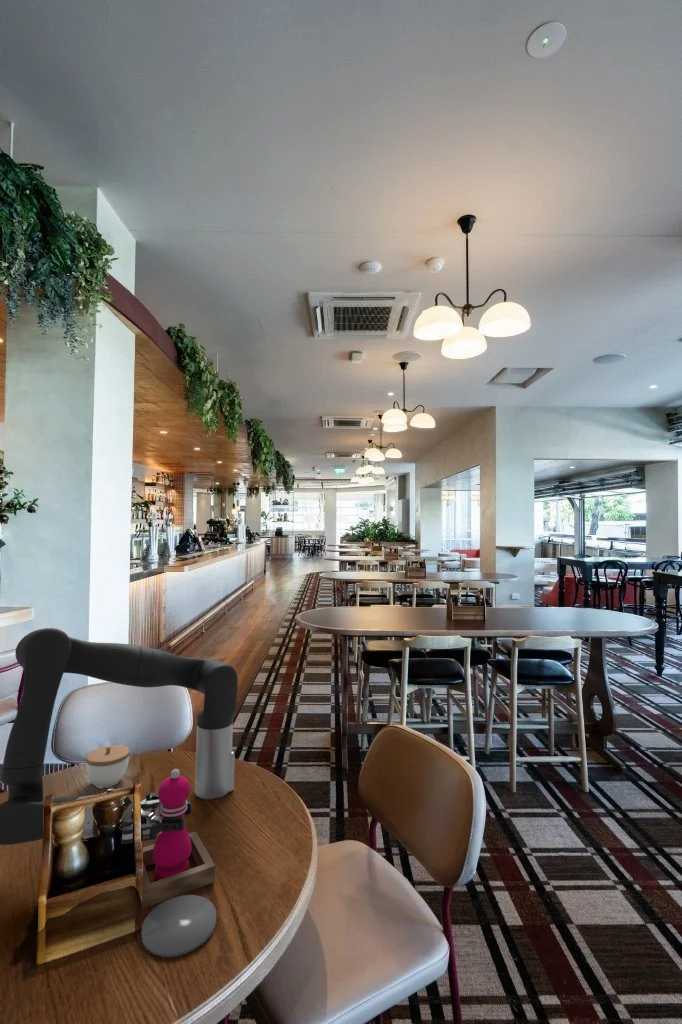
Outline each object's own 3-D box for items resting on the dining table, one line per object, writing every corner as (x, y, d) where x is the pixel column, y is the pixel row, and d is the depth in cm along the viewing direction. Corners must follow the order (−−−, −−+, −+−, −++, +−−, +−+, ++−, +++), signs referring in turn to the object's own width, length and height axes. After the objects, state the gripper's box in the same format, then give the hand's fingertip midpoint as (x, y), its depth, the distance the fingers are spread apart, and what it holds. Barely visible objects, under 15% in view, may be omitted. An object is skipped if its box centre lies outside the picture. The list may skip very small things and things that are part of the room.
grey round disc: (204, 891, 90) (204, 886, 90) (225, 936, 80) (226, 929, 80) (135, 918, 83) (135, 911, 83) (149, 970, 73) (149, 963, 73)
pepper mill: (198, 866, 96) (201, 764, 98) (174, 891, 90) (178, 781, 91) (168, 858, 99) (172, 758, 100) (143, 881, 92) (147, 774, 93)
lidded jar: (135, 781, 130) (137, 746, 131) (94, 797, 122) (96, 759, 123) (117, 769, 137) (119, 735, 138) (77, 783, 129) (79, 747, 130)
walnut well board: (195, 845, 103) (195, 831, 103) (214, 881, 92) (215, 865, 92) (130, 866, 96) (130, 851, 96) (142, 908, 85) (143, 891, 85)
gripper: (82, 817, 87) (177, 816, 88) (115, 779, 102) (197, 778, 102) (80, 861, 87) (176, 859, 88) (114, 816, 101) (196, 815, 102)
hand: (187, 815), depth 95 cm, fingers closed on pepper mill, 4 cm apart
